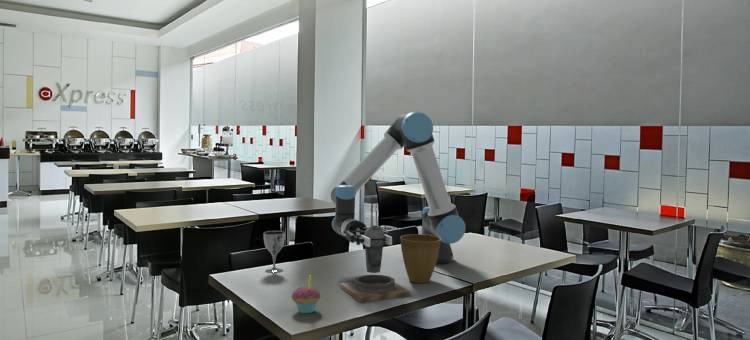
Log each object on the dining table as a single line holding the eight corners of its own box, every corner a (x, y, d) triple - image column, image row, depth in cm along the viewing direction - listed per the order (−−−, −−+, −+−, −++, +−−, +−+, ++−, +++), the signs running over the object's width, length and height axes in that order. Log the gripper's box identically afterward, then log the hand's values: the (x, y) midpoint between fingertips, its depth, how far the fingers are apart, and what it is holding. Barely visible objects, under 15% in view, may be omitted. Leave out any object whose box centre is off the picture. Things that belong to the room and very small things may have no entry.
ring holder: (386, 281, 189) (387, 271, 189) (410, 295, 172) (410, 284, 172) (340, 287, 181) (340, 276, 181) (360, 302, 165) (360, 290, 165)
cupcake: (326, 310, 157) (326, 271, 156) (304, 317, 151) (304, 277, 150) (307, 304, 163) (307, 266, 162) (285, 311, 157) (285, 271, 156)
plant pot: (423, 289, 180) (423, 243, 179) (391, 280, 191) (391, 237, 190) (448, 280, 191) (449, 237, 190) (417, 273, 201) (417, 232, 200)
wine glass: (259, 272, 201) (259, 233, 200) (270, 267, 208) (270, 230, 207) (278, 274, 198) (278, 235, 197) (288, 269, 206) (288, 231, 205)
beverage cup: (382, 274, 172) (383, 214, 171) (360, 273, 174) (361, 213, 172) (386, 269, 179) (387, 211, 178) (365, 267, 181) (366, 210, 179)
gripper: (378, 238, 196) (407, 251, 176) (328, 241, 188) (351, 255, 167) (379, 218, 196) (407, 229, 175) (328, 221, 188) (352, 232, 167)
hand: (380, 241), depth 171 cm, fingers closed on beverage cup, 7 cm apart
